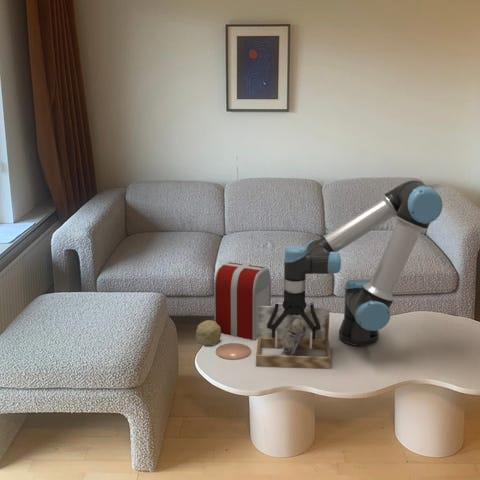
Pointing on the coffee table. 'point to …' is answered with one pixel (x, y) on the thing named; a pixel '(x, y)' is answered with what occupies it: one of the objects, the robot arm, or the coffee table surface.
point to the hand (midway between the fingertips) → (293, 346)
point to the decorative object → (208, 333)
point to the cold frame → (299, 361)
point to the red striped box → (240, 298)
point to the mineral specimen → (293, 336)
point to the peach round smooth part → (233, 351)
